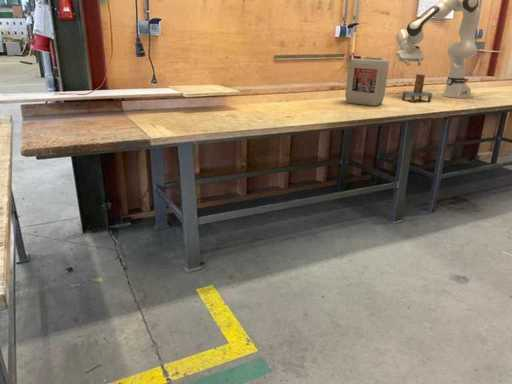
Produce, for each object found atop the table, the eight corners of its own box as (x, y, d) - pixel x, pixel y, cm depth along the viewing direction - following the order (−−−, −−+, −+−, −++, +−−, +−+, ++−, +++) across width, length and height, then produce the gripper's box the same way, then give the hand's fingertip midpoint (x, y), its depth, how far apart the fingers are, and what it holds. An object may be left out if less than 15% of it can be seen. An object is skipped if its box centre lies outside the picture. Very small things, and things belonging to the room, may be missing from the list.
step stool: (420, 99, 304) (421, 90, 302) (431, 102, 294) (432, 93, 291) (401, 99, 299) (402, 91, 297) (412, 102, 289) (413, 93, 287)
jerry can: (342, 103, 279) (347, 56, 267) (350, 99, 294) (355, 54, 283) (378, 107, 269) (385, 58, 257) (384, 103, 284) (391, 57, 273)
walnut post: (418, 91, 297) (421, 74, 292) (421, 92, 293) (425, 75, 289) (413, 91, 295) (416, 74, 291) (417, 92, 292) (420, 75, 287)
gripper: (397, 46, 294) (404, 62, 289) (421, 46, 300) (428, 62, 296) (393, 52, 300) (399, 68, 295) (416, 52, 306) (423, 68, 301)
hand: (414, 65), depth 295 cm, fingers open, 8 cm apart
